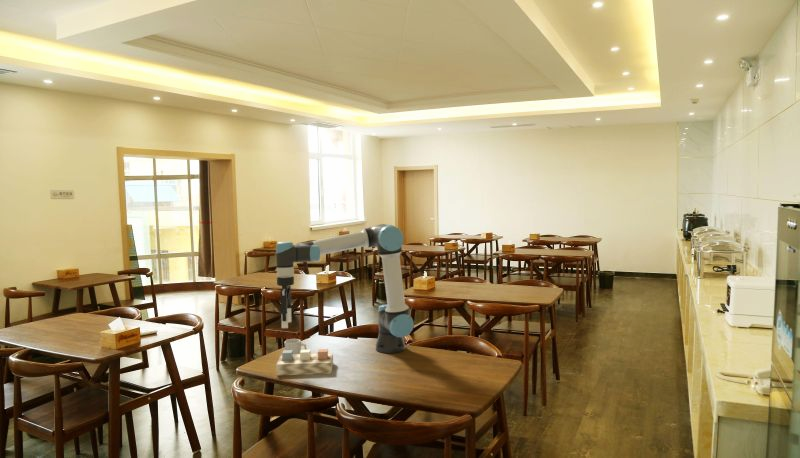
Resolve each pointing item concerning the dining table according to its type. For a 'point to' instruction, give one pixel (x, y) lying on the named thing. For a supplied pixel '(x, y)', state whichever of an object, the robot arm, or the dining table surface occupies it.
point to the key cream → (305, 355)
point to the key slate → (287, 355)
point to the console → (304, 365)
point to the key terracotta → (322, 354)
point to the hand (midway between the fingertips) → (286, 325)
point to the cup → (294, 345)
